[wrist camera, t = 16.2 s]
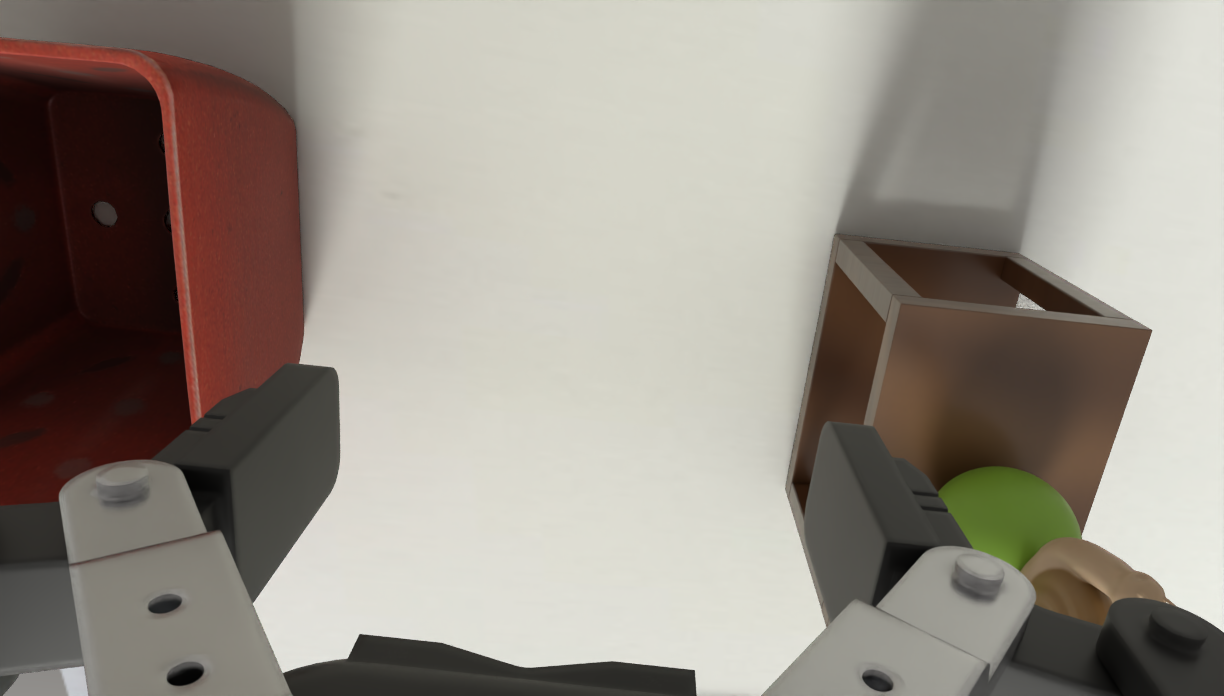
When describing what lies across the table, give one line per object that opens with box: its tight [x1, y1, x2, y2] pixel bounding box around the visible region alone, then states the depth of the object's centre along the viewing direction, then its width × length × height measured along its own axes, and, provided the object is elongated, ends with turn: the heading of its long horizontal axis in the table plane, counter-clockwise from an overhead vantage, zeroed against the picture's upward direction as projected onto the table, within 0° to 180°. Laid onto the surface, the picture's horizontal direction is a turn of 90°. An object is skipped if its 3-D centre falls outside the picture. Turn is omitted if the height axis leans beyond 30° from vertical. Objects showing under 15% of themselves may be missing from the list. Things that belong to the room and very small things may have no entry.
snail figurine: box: [938, 466, 1177, 626], centre depth 28 cm, size 5×6×12 cm
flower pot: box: [0, 37, 304, 506], centre depth 36 cm, size 19×19×17 cm
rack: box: [785, 234, 1152, 627], centre depth 39 cm, size 15×10×14 cm, turn 174°
